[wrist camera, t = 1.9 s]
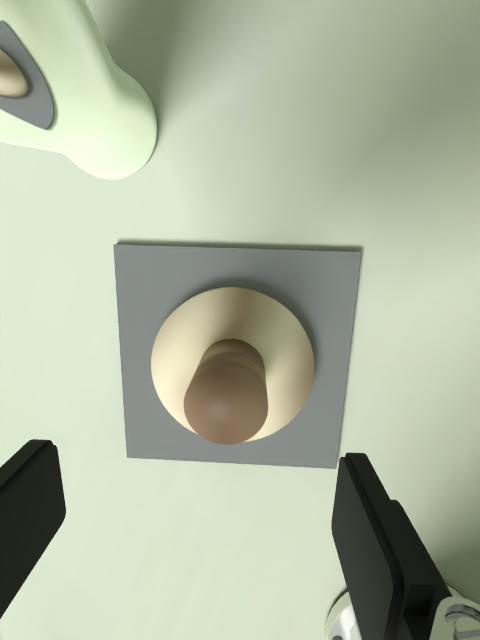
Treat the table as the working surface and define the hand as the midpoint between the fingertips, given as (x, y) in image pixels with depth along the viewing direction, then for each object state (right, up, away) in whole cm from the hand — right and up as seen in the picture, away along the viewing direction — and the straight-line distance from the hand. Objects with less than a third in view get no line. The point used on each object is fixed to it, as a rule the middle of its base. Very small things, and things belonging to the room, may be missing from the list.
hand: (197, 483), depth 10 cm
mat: (+1, +2, +12) cm, 12 cm away
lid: (+1, +2, +12) cm, 12 cm away
